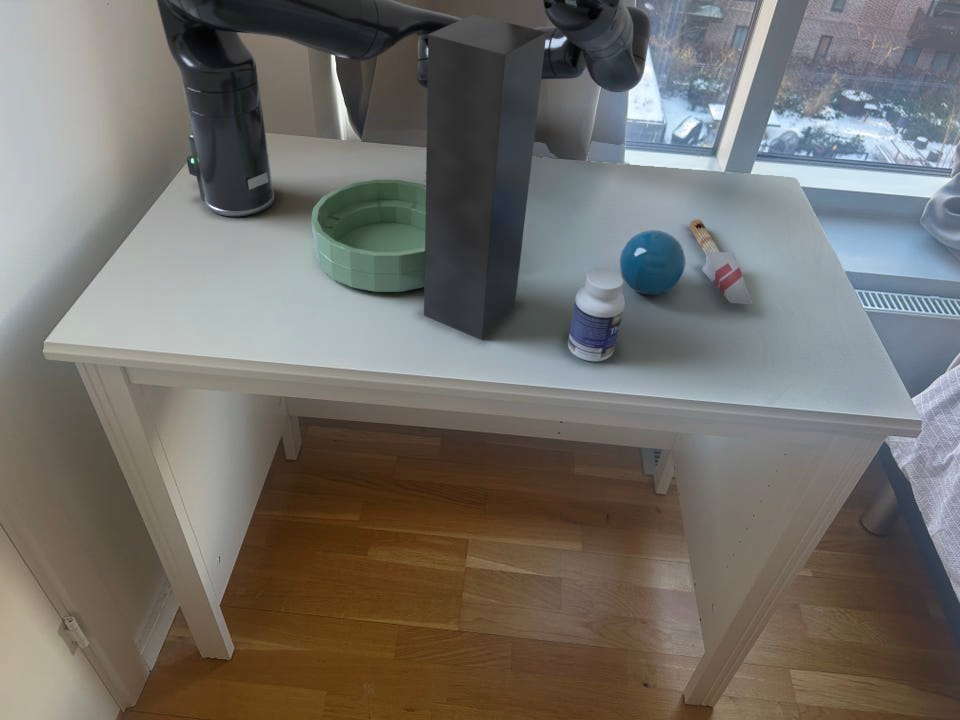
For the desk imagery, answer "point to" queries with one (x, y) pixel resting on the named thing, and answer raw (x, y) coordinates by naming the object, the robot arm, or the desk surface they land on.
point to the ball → (652, 262)
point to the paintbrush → (721, 267)
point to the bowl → (372, 235)
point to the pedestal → (478, 167)
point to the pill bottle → (597, 315)
